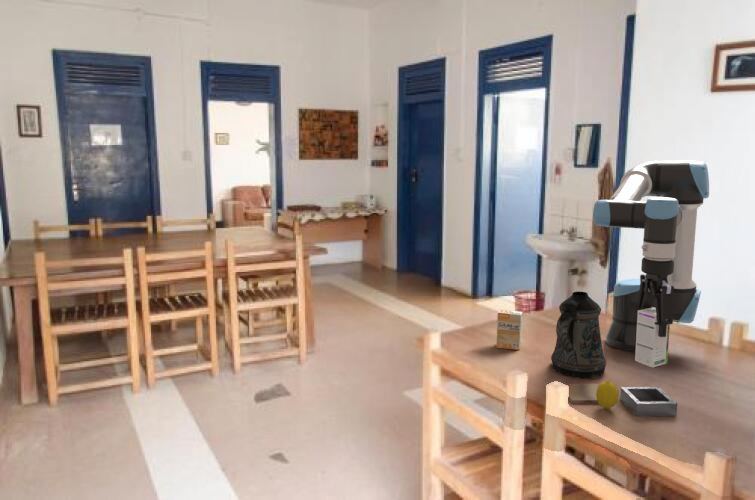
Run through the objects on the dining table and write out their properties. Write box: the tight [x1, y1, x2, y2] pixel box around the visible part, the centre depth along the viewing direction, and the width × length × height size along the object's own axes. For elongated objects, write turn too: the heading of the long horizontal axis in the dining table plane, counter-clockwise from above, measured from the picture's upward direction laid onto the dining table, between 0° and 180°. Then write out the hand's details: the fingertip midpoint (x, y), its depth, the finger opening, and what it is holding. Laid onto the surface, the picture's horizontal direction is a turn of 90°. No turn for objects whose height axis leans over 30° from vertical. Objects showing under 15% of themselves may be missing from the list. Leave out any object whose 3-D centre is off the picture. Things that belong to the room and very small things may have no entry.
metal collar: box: [619, 386, 678, 417], centre depth 153 cm, size 10×10×4 cm
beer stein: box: [550, 291, 607, 380], centre depth 177 cm, size 16×19×25 cm
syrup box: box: [634, 307, 671, 368], centre depth 150 cm, size 6×6×14 cm
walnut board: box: [565, 383, 600, 405], centre depth 162 cm, size 11×11×1 cm
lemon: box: [596, 380, 619, 410], centre depth 152 cm, size 6×6×8 cm
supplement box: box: [495, 309, 524, 351], centre depth 200 cm, size 8×5×13 cm, turn 68°
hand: (652, 342), depth 151 cm, fingers closed on syrup box, 7 cm apart
